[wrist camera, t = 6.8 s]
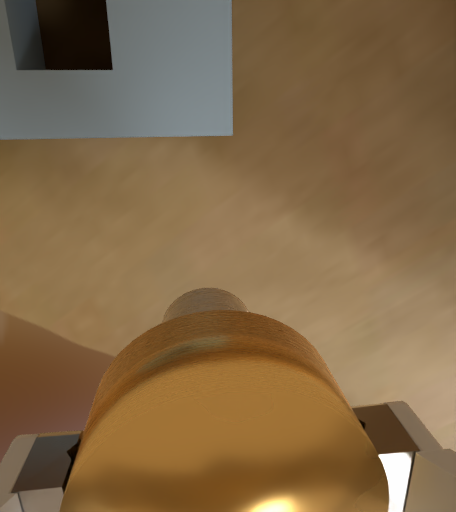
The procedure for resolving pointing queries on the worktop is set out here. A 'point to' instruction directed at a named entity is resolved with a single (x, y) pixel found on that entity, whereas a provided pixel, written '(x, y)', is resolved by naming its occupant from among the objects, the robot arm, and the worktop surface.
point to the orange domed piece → (223, 422)
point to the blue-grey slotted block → (122, 74)
